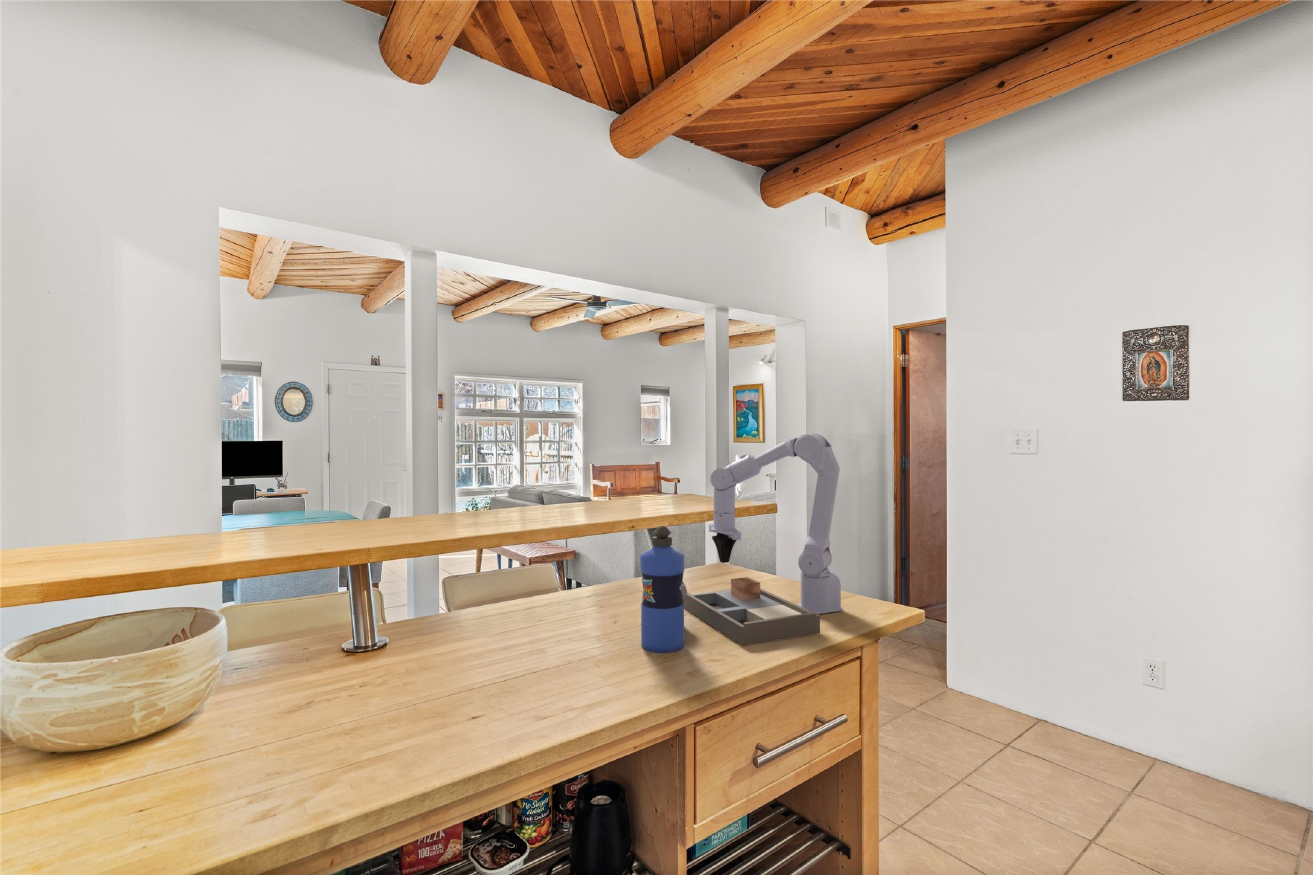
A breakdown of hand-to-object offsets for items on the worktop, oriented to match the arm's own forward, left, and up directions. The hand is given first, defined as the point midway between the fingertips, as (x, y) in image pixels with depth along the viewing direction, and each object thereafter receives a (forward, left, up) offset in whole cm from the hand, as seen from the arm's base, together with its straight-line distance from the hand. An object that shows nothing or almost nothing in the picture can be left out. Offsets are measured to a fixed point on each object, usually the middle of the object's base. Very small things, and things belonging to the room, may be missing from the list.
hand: (724, 562), depth 164 cm
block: (0, +11, -6) cm, 13 cm away
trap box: (+4, +19, -10) cm, 22 cm away
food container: (+22, +17, -10) cm, 30 cm away
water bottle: (+29, +27, -10) cm, 41 cm away
